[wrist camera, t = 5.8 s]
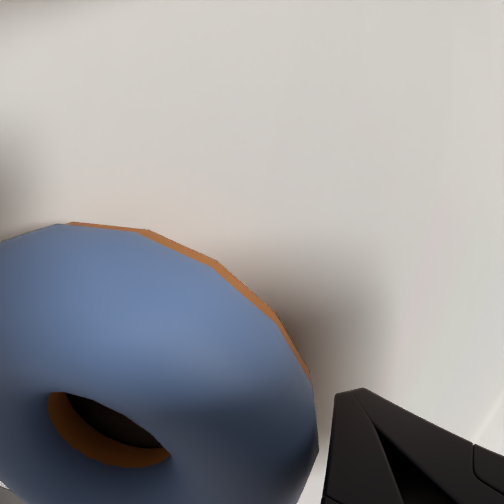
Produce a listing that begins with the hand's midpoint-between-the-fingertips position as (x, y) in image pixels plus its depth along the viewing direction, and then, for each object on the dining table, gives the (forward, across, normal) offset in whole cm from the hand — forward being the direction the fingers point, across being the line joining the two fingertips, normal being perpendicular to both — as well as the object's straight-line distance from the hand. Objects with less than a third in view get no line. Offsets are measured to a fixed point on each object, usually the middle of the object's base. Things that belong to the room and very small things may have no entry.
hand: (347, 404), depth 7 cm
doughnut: (+2, +6, 0) cm, 6 cm away
